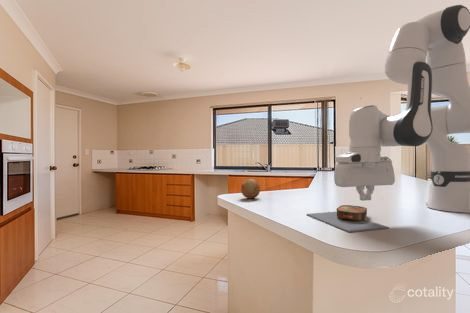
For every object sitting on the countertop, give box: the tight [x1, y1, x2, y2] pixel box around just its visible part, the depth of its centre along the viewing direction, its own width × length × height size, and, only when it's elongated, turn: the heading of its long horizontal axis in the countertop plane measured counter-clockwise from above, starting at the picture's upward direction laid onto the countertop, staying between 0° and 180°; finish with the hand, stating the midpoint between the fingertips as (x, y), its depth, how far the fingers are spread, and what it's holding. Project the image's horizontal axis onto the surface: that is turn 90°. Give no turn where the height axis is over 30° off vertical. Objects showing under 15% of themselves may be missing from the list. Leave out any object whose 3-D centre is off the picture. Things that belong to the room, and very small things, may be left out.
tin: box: [336, 204, 368, 221], centre depth 83 cm, size 15×3×8 cm
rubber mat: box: [306, 211, 390, 233], centre depth 79 cm, size 13×22×1 cm, turn 14°
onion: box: [240, 178, 261, 199], centre depth 127 cm, size 10×10×10 cm
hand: (365, 200), depth 80 cm, fingers closed
